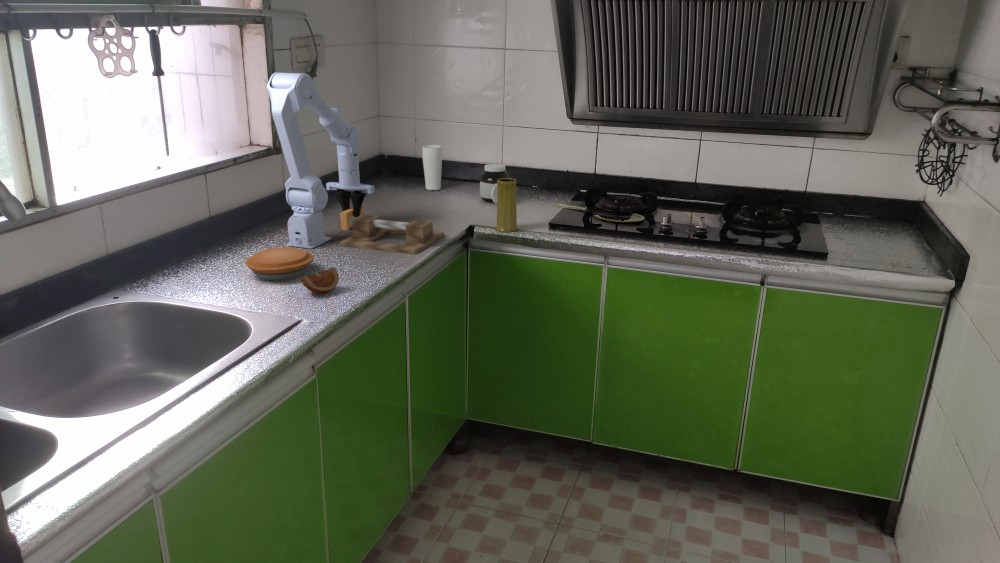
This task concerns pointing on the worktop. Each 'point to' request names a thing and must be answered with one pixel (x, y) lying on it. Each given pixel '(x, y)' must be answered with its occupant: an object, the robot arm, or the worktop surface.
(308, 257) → the pie
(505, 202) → the vase
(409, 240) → the hook stand
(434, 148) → the drinking glass
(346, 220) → the tan wooden angled block
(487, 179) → the spread jar
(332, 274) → the fruit slice
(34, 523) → the worktop surface
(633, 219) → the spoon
